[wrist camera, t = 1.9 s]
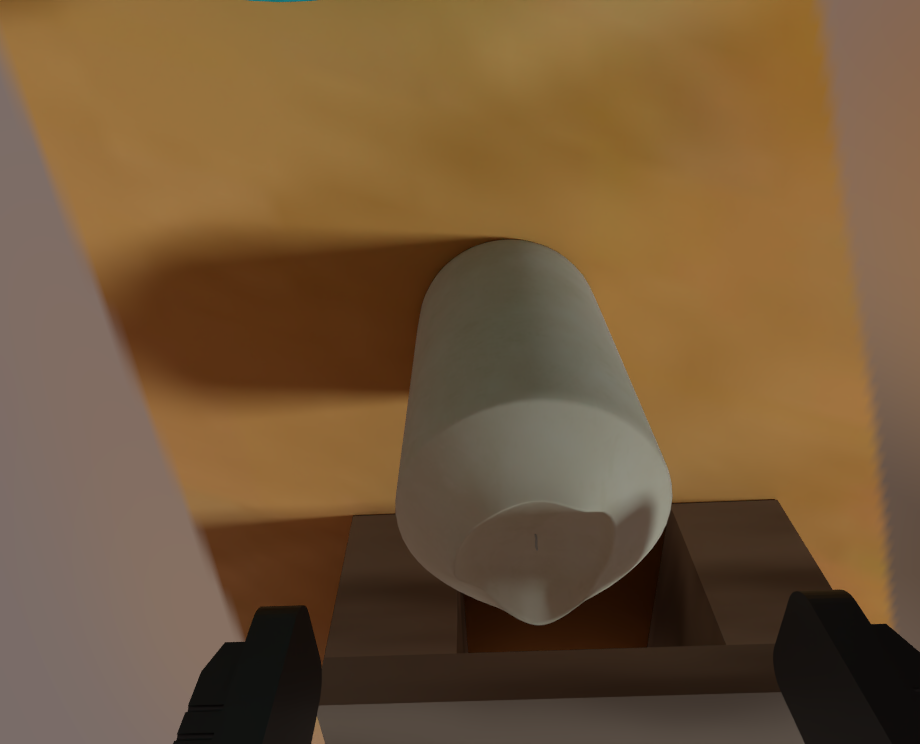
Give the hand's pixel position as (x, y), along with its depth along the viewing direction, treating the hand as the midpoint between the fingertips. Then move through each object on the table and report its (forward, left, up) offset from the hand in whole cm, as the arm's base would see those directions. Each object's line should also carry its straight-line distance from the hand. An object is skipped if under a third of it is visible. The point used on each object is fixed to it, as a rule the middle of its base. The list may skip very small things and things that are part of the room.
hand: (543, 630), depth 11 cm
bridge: (+13, +2, -11) cm, 17 cm away
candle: (0, 0, -11) cm, 11 cm away
